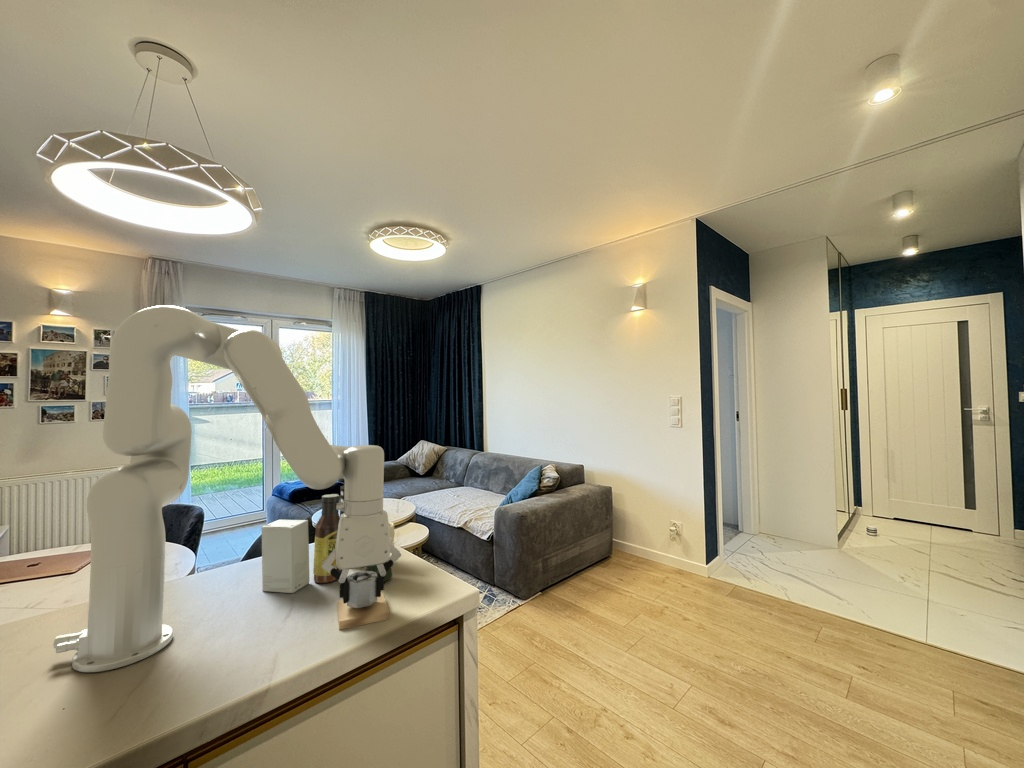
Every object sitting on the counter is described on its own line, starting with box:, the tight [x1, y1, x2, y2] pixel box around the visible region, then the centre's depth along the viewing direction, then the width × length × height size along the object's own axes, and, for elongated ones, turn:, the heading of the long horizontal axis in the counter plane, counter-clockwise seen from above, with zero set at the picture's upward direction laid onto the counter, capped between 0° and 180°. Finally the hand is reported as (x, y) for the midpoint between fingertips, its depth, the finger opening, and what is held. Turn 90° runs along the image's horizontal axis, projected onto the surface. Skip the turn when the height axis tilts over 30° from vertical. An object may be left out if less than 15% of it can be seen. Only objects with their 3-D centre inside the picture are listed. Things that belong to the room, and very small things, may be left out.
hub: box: [347, 570, 378, 608], centre depth 83 cm, size 6×6×5 cm
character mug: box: [364, 521, 396, 582], centre depth 99 cm, size 11×7×13 cm, turn 51°
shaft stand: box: [336, 576, 390, 631], centre depth 83 cm, size 9×9×7 cm
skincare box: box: [261, 519, 310, 594], centre depth 95 cm, size 8×6×15 cm
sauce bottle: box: [313, 493, 340, 584], centre depth 100 cm, size 6×6×20 cm
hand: (361, 596), depth 83 cm, fingers closed on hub, 5 cm apart
